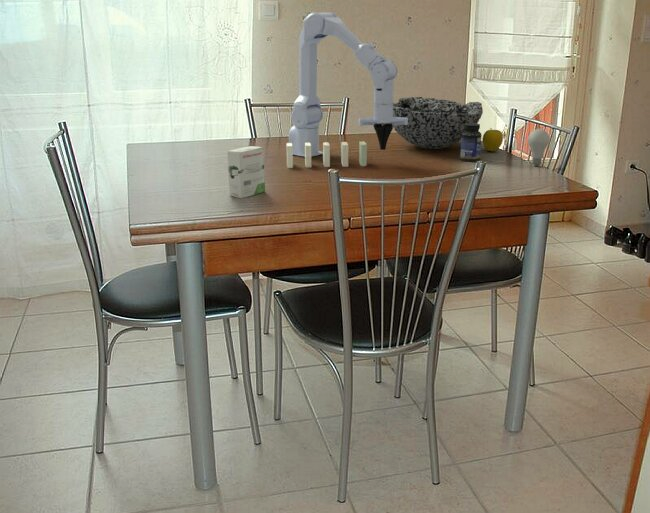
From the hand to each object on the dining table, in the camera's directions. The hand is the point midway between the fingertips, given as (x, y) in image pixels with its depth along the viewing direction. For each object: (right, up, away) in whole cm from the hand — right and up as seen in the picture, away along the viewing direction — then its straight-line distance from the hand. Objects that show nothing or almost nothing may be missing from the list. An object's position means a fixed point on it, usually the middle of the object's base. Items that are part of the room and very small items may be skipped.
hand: (382, 149), depth 218 cm
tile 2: (-22, -5, 0) cm, 23 cm away
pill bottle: (+27, -3, +6) cm, 28 cm away
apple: (+37, +2, +18) cm, 41 cm away
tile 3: (-17, -5, 0) cm, 18 cm away
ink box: (-37, -16, -32) cm, 52 cm away
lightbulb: (+45, -6, -3) cm, 46 cm away
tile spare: (-6, -4, +1) cm, 8 cm away
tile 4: (-11, -5, +1) cm, 12 cm away
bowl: (+19, +4, +26) cm, 32 cm away
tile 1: (-28, -5, -1) cm, 28 cm away
